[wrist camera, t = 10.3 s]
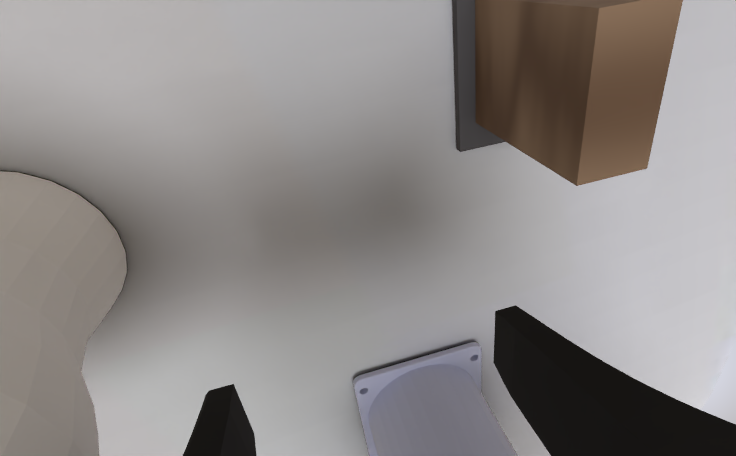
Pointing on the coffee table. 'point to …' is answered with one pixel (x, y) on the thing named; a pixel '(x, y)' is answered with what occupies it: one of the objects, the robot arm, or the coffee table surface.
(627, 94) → the brown wooden block
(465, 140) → the pad
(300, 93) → the coffee table surface
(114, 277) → the cream vase
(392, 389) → the robot arm
